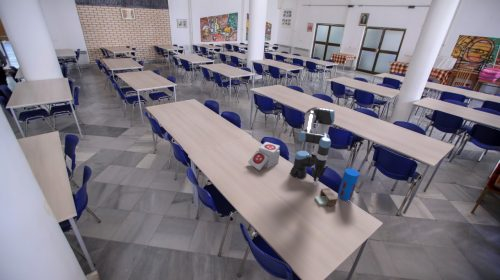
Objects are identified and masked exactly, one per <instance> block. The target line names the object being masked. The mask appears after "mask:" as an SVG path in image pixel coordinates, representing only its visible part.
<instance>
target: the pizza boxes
mask: <svg viewBox="0 0 500 280" xmlns="http://www.w3.org/2000/svg"><path fill="white" fill-rule="evenodd" d="M280 146H281V145H279V144H276V143H275V144H274V143H272V142H268V141H265V142H264V143H263V144H262V145H261V146H260V147H259V148H258V149H257V150H256V151H255V152H254V153H253V155H252V156H251V157H250V159H249V160H248V161H247V163H248V164H249V165H251V166H252V167H253V168H255V169H256V170H257V171H259V172H260V171H261V169H262V168H263V167H265V168H267V169H269V168H271V167H273V166H275V165H277V164H279V160H280V153H281V150H280V148H281V147H280Z"/></svg>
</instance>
